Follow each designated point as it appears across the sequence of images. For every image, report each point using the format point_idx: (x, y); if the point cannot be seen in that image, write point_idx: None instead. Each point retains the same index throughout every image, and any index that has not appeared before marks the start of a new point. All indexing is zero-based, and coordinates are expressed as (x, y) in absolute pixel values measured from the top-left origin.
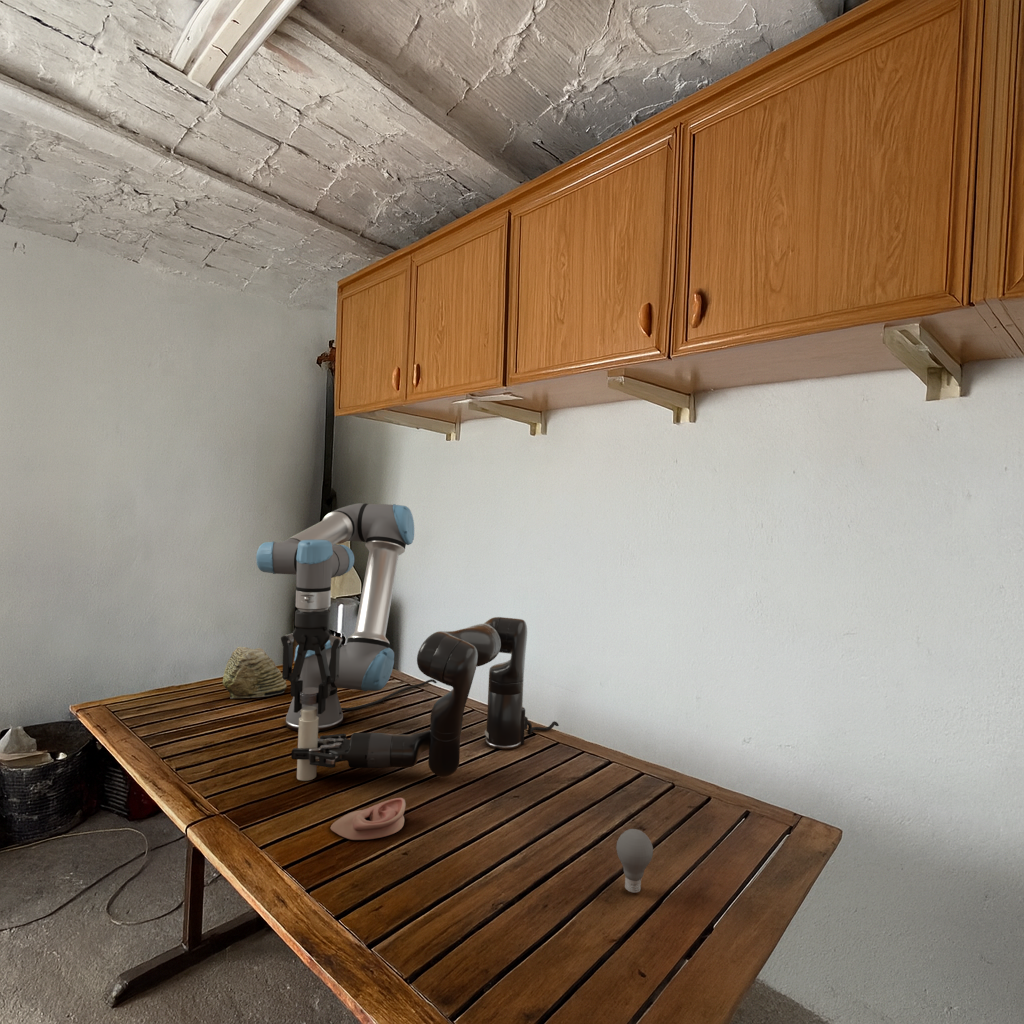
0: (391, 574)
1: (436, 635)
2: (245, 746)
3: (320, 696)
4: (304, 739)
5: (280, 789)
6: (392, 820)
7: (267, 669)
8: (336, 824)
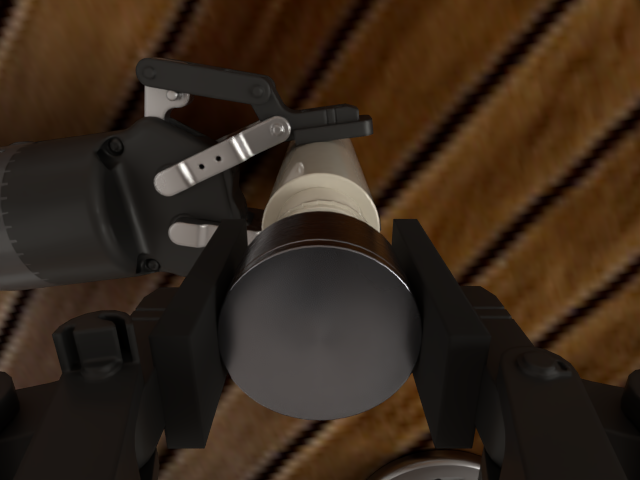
0: None
1: None
2: (595, 339)
3: (197, 273)
4: (320, 150)
5: (373, 40)
6: None
7: None
8: None
